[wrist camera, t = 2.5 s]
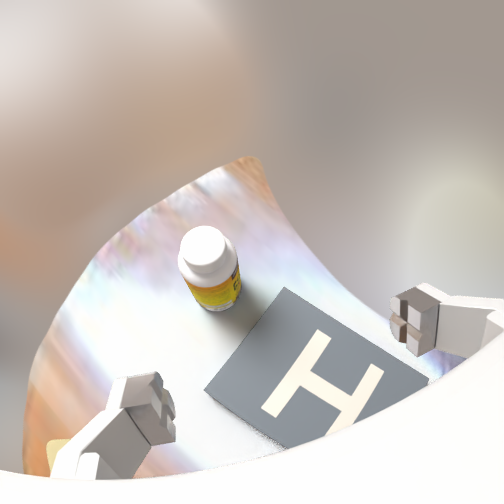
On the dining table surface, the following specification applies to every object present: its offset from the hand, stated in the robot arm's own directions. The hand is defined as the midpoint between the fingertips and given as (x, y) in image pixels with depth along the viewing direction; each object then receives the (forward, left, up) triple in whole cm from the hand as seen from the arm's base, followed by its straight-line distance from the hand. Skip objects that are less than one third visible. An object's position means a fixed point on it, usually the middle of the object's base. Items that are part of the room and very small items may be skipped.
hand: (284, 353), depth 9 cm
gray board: (-3, -5, -22) cm, 23 cm away
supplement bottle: (+12, +2, -23) cm, 26 cm away
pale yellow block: (-4, +23, -23) cm, 32 cm away
